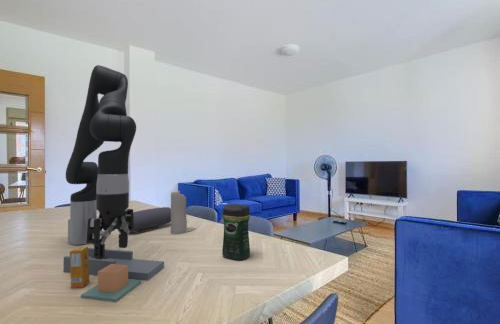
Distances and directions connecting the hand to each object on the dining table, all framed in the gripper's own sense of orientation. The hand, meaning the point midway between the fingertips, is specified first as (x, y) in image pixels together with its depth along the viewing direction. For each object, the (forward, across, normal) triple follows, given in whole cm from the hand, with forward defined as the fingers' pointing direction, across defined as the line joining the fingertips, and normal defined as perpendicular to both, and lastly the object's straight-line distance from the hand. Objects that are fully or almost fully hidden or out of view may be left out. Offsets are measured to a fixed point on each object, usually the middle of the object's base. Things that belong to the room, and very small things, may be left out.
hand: (112, 252), depth 68 cm
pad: (+10, 0, 0) cm, 10 cm away
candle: (+10, +58, +7) cm, 59 cm away
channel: (+10, +11, +9) cm, 17 cm away
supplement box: (+10, 0, +10) cm, 14 cm away
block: (+9, 0, 0) cm, 9 cm away
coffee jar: (+10, +30, -26) cm, 41 cm away
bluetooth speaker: (+11, +57, +25) cm, 63 cm away
